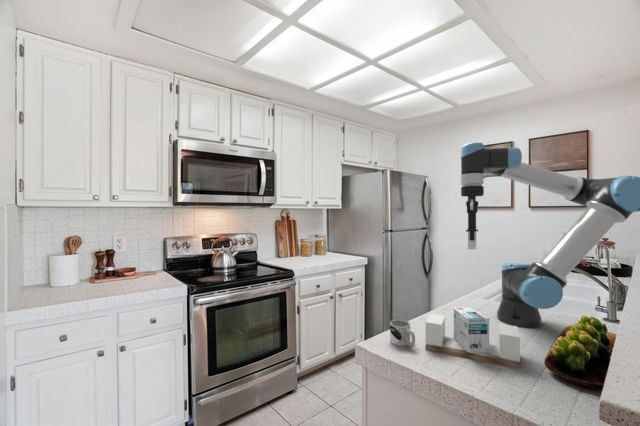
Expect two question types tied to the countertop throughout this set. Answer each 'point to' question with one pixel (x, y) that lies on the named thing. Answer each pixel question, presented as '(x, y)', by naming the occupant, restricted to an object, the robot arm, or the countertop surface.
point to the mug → (401, 333)
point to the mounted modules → (507, 336)
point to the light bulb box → (471, 330)
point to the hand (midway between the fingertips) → (472, 248)
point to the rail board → (456, 349)
